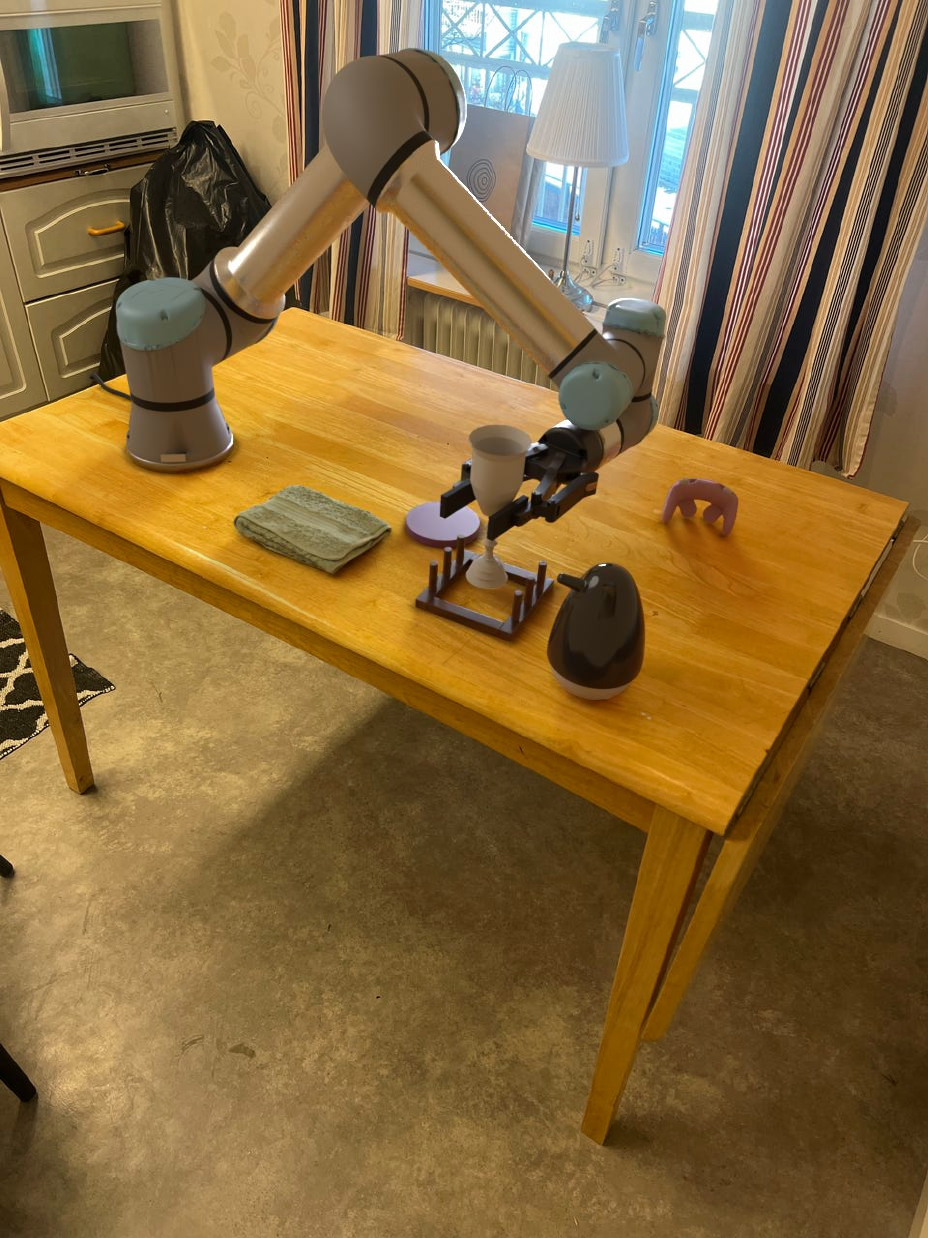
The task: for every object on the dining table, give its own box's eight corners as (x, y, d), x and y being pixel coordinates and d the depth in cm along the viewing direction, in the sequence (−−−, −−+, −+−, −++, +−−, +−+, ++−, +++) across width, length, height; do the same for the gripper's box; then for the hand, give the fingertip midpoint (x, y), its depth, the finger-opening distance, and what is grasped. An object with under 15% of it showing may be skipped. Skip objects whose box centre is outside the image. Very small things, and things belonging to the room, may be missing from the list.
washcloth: (334, 583, 108) (333, 561, 106) (228, 534, 115) (225, 513, 113) (397, 537, 117) (397, 516, 115) (295, 494, 124) (294, 474, 122)
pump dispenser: (534, 652, 100) (550, 538, 91) (624, 651, 101) (649, 539, 92) (548, 715, 92) (567, 598, 83) (646, 714, 93) (675, 598, 84)
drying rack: (414, 607, 106) (416, 572, 103) (463, 556, 115) (466, 523, 112) (510, 642, 101) (514, 607, 98) (553, 587, 110) (558, 554, 107)
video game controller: (730, 535, 126) (743, 486, 124) (731, 537, 121) (744, 487, 120) (661, 520, 128) (673, 472, 126) (659, 522, 123) (671, 472, 122)
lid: (391, 533, 118) (391, 525, 117) (428, 501, 125) (428, 494, 124) (457, 556, 115) (458, 548, 114) (491, 521, 122) (492, 514, 121)
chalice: (509, 598, 103) (526, 460, 92) (452, 588, 104) (462, 450, 93) (519, 564, 109) (536, 429, 98) (465, 555, 109) (475, 420, 98)
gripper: (638, 499, 110) (534, 580, 94) (513, 449, 118) (399, 515, 103) (650, 444, 105) (542, 520, 90) (519, 396, 113) (401, 457, 98)
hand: (466, 517), depth 96 cm, fingers closed on chalice, 6 cm apart
